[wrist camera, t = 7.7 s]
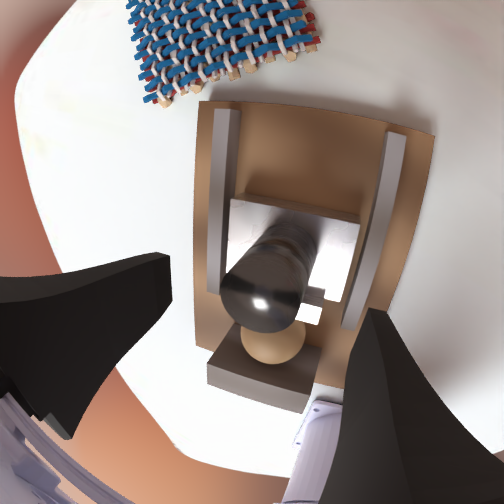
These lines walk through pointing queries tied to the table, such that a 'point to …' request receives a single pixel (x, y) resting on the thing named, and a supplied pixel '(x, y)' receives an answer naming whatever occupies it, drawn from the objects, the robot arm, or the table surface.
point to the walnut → (274, 343)
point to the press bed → (312, 193)
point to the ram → (284, 261)
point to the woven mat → (213, 40)
